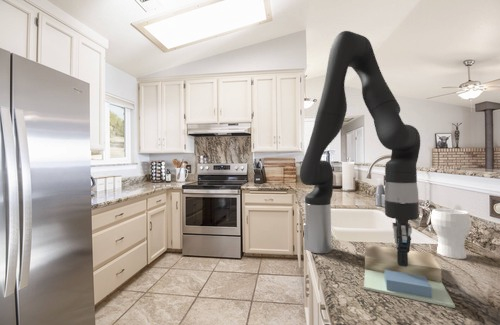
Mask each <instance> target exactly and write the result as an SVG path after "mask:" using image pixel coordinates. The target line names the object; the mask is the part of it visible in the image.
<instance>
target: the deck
mask: <svg viewBox="0 0 500 325" xmlns="http://www.w3.org/2000/svg"><path fill="white" fill-rule="evenodd" d="M436 260H437V259H436V258H435V257H434V255H433V254H432V253H431V252H427V251H426V252H425V251H417V250H410V251H409V252H408V266H407V267H405V266H399V265H398V262H397V250H396V247H395V248H393V247H385V246H378V245H369V244H365V251H364V270H365V269H366V270H371V271H377V272H383V273H385V270H389V271H395V272H402V273H408V274H415V275H421V276H425V277H426V278H427V280H429V281H435V282H441V283H442V268H441V267H440V265H439V263H438V261H436Z"/></svg>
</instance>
